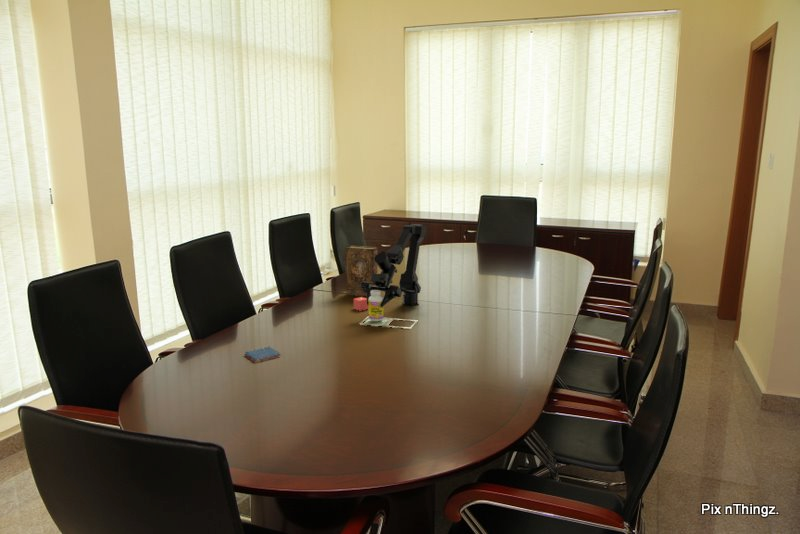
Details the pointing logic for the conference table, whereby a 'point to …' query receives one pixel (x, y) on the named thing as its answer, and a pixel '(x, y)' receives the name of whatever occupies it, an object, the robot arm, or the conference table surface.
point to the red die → (360, 303)
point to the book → (359, 268)
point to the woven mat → (262, 354)
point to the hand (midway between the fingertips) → (374, 305)
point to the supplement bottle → (375, 306)
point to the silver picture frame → (386, 322)
